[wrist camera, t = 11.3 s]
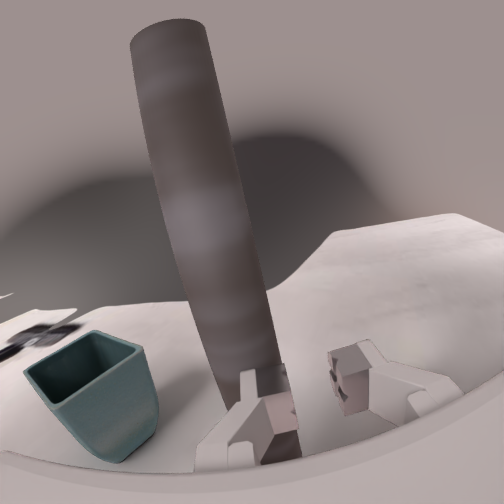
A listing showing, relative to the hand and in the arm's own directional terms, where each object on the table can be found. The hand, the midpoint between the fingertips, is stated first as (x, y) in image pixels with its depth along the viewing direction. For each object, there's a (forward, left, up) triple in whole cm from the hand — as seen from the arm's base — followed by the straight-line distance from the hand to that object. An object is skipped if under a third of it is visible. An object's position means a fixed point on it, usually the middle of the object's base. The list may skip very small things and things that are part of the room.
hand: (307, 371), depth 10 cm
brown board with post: (-4, -4, -11) cm, 13 cm away
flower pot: (-16, +9, -12) cm, 22 cm away
